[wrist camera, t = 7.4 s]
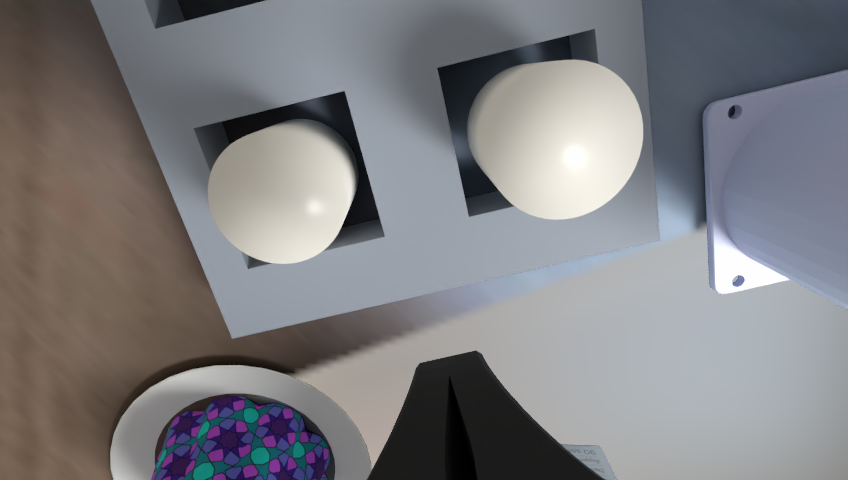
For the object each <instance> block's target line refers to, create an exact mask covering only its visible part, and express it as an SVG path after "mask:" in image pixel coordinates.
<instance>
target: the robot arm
mask: <svg viewBox="0 0 848 480" xmlns="http://www.w3.org/2000/svg"><path fill="white" fill-rule="evenodd" d="M731 106H734V107H735V113H734V115H733V116H732V117H730V118H729V116H728V111H729V109H730V108H731ZM703 140H704V165H705V189H706V214H707V236H708V238H707V239H708V263H709V284H710V287H711V288H712V289H713V290H714V291H716V292H717V293H720V294H728V293H732V292H737V291H741V290H746V289H750V288H755V287H759V286H764V285H768V284H773V283H777V282H782V281H786V280H792V281H794V282H796V283H798V284H800V285H801V286H803V287H805V288H807V289H809V290H811V291H813V292H814V293H816V294H818V295H820V296H822V297H824V298H826V299H828V300H830V301H832V302H833V303H835V304H837V305H839V306H841V307H843V308H845V309H847V310H848V69H847V70H843V71H839V72H835V73H831V74H826V75H822V76H818V77H814V78H810V79H806V80H801V81H797V82H793V83H789V84H785V85H780V86H776V87H772V88H768V89H764V90H760V91H755V92H751V93H747V94H743V95H739V96H735V97H730V98H726V99H722V100H718V101H715V102H712V103H710V104H709V105H708V106H707V107H706V108H705V110H704V112H703ZM736 276H738V279H737V280H736V281H735V282H733V283H732V280H733V279H734V277H736ZM367 480H605V479H604V478H602V477H601V476H600V475H598V474H597V473H596V472H594V471H593V470H592V469H590V468H589V467H588V466H586V465H585V464H584V463H583V462H581V461H580V460H579V459H578V458H576V457H575V456H574V455H573V454H571V453H570V452H569V451H568V450H567V449H565V448H564V447H563V446H562V445H561V444H560V443H558V442H557V441H556V440H555V439H554V438H553V437H552V436H550V434H548V433H547V432H546V431H545V430H544V429H543V428H542V427H541V426H540V425H539V424H538V423H537V422H536V421H535V420H534V419H533V418H532V417H531V416H530V415H529V414H528V413H527V412H526V411H525V410H524V409H523V408H522V407H521V406H520V405H519V403H518V402H517V401H516V400H515V399H514V398H513V397H512V396H511V395H510V393H509V392H508V391H507V390H506V389H505V388H504V386H503V385H502V384H501V383H500V381H499V380H498V379H497V378H496V376H495V375H494V373H493V372H492V371H491V369H490V368H489V366H488V365H487V363H486V361H485V359H484V358H483V355H482V354H481V353H479V352H477V351H472V352H468V353H463V354H459V355H454V356H450V357H446V358H441V359H436V360H432V361H427V362H423V363H420V364H419V365H418V367H417V368H416V371H415V374H414V377H413V380H412V383H411V386H410V389H409V392H408V394H407V397H406V399H405V402H404V405H403V407H402V409H401V412H400V414H399V416H398V418H397V421H396V423H395V425H394V428H393V430H392V432H391V434H390V436H389V438H388V441H387V442H386V444H385V446H384V448H383V450H382V452H381V454H380V456H379V458H378V460H377V462H376V463H375V465H374V468H373V469H372V471H371V473H370V475H369V476H368V478H367Z"/></svg>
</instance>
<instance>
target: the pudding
mask: <svg viewBox="0 0 848 480" xmlns="http://www.w3.org/2000/svg"><path fill="white" fill-rule="evenodd" d="M234 393H245V394H253V396H250V397H249V398H248V399H247V398H245V397H239V396H225V397H221V398H218V399H214V400H213V401H212V402H211V403H210V405H209V406H208V407H207V409H206V410H205V411H186V412H185V413H183V414H181V415H180V416H178V417H176V418H175V419H174V420H173V422H172V424H171V425H170V427H169V429H168V431H167V434H166V438H165V441H164V444H163V447H162V451H160V452H159V456H158V459H157V462H156V466H155V449H156V445H157V441H158V438H159V436H160V434H161V432H162V430H163V428H164V427H165V425H166V424H167V423H168V422H169V421H170V419H171V418H172V417H173V416H174V415H176V414H177V413H178V412H179V411H181V410H182V409H183V408H185V407H187V406H189V405H190V404H192V403H194V402H196V401H199V400H202V399H205V398H208V397H211V396H216V395H222V394H234ZM110 464H111V473H112V476H113V480H367V478H368V476H369V475H370V473H371V461H370V458H369V453H368V450H367V446H366V444H365V442H364V440H363V438H362V436H361V434H360V432H359V430H358V428H357V427H356V425H355V424H354V423H353V422H352V420H351V419H350V418H349V416H348V415H347V414H346V412H345V411H344V410H343V409H341V408H340V407H339V406H338V405H337V404H336V403H335V402H334V401H332V399H330V398H329V397H328V396H326V395H325V394H323V393H322V392H320V391H319V390H317V389H316V388H314V387H313V386H311V385H309V384H307V383H305V382H302V381H300V380H298V379H296V378H294V377H291V376H289V375H286V374H283V373H279V372H276V371H272V370H269V369H265V368H258V367H251V366H243V365H215V366H209V367H203V368H197V369H191V370H188V371H185V372H182V373H179V374H176V375H174V376H171V377H168V378H166V379H165V380H163V381H161V382H159V383H157V384H156V385H154V386H152V387H150V388H149V389H148V390H146V391H145V392H144V393H143V394H142V395H140V396H139V397H138V398H137V399H136V400H134V401H133V403H132V404H131V405H130V407H129V408H128V409H127V410H126V412H125V413H124V414H123V416H122V417H121V419H120V421H119V423H118V426H117V428H116V430H115V432H114V435H113V440H112V445H111V449H110Z"/></svg>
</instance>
